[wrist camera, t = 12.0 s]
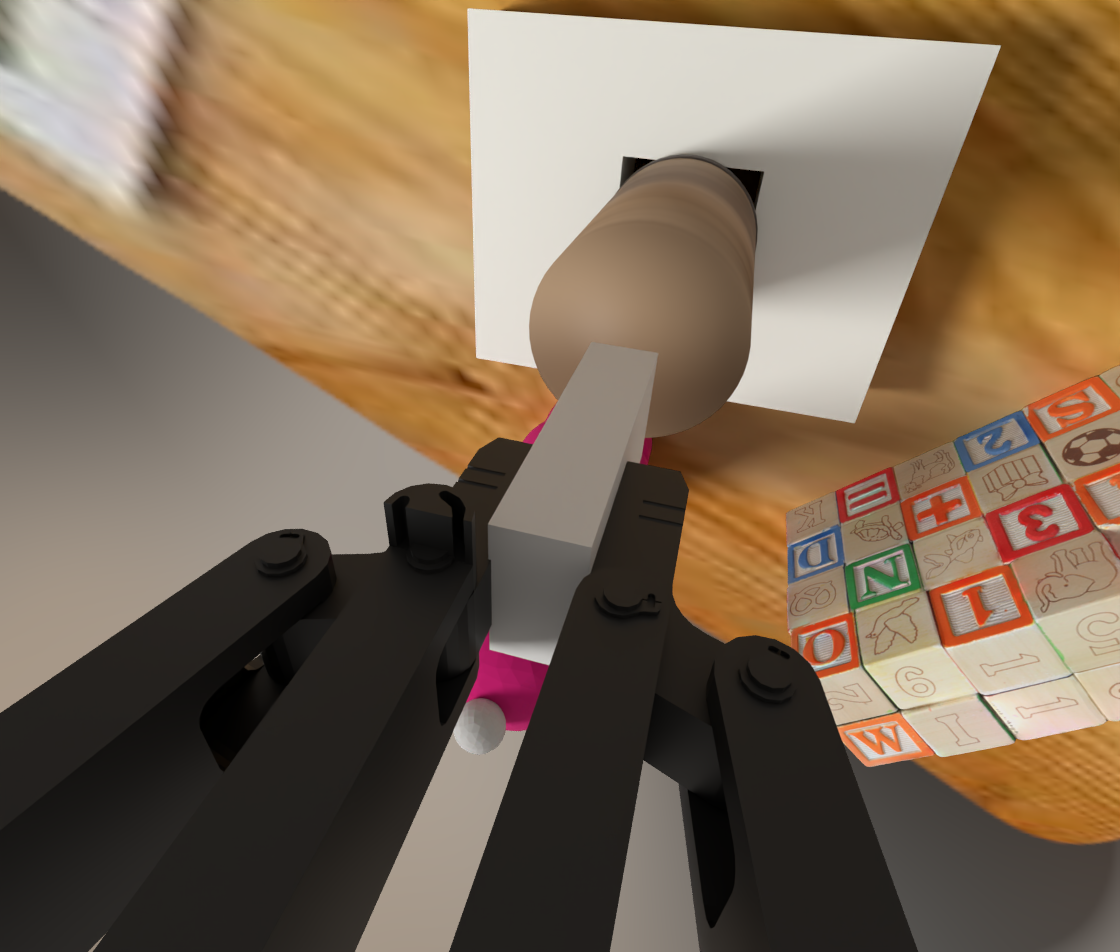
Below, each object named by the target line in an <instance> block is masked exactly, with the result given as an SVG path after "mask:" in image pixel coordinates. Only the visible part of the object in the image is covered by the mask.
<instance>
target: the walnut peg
mask: <svg viewBox="0 0 1120 952" xmlns="http://www.w3.org/2000/svg"><path fill="white" fill-rule="evenodd" d="M757 232H758V226H757V216H756V212H755V208H754V205H753V202H752V199H751V197H750V195H749V193H748V191H747V190H746V188H745V186H744V185H743V184H742V182H741V181H740V180H739V179H738V178H737V177H736V176H735V175H734V174H733V173H732V172H731V171H730V170H729V169H727V168H726V167H725V166H723V165H722V164H720V163H718V162H716V161H714V160H711V159H708V158H706V157H702V156H697V155H685V154H680V155H671V156H667V157H663V158H659V159H657V160H655V161H652V162H650V163H648V164H646V165H645V166H643V167H641V168H640V169H638V170H637V171H636V172H635V173H633V174H632V175H631V176H630V177H629V178H628V179H627V180H626V181H625V182H624V183H623V184H622V186H621V187H620V188H619V189H618V191H617V192H616V194H615V195H614V196H613V197H612V198H611V200H610V201H609V202H608V203H607V204H606V205H605V206H604V207H603V208H602V209H601V211H600V212H599V213H598V214H597V215H596V216H595V217H594V218H593V219H592V221H591V222H590V223H589V224H588V225H587V226H586V227H585V228H584V229H583V231H582V232H581V233H580V234H579V235H578V236H577V237H576V238H575V239H574V240H573V242H572V243H571V244H570V245H569V246H568V247H567V248H566V249H565V250H564V252H563V253H562V254H561V255H560V256H559V257H558V258H557V259H556V260H555V261H554V263H553V264H552V265H551V267H550V268H549V269H548V271H547V272H546V273H545V275H544V277H543V278H542V280H541V282H540V284H539V286H538V288H537V291H536V293H535V296H534V298H533V302H532V307H531V311H530V320H529V339H530V344H531V350H532V354H533V357H534V361H535V364H536V366H537V369H538V371H539V373H540V375H541V377H542V379H543V381H544V382H545V384H546V386H547V387H548V389H549V390H550V391H551V392H552V394H553V395H554V396H555V398H556V399H557V400H559V398H560V396H561V395H562V393H563V391H564V389H565V388H566V386H567V384H568V382H569V381H570V379H571V377H572V375H573V374H574V372H575V370H576V368H577V367H578V365H579V363H580V361H581V359H582V358H583V356H584V354H585V352H586V351H587V349H588V347H589V345H590V344H591V342H595V343H601V344H607V345H613V346H619V347H625V348H631V349H637V350H644V351H650V352H656V353H658V358H657V364H656V370H655V377H654V383H653V389H652V395H651V401H650V408H649V414H648V420H647V426H646V433H645V438H652V437H662V436H667V435H671V434H676V433H678V432H681V431H684V430H687V429H689V428H691V427H693V426H695V425H698V424H700V423H701V422H703V421H704V420H706V419H707V418H709V417H710V416H712V415H713V414H714V413H715V412H716V411H717V410H719V409H720V408H721V407H722V406H723V405H724V403H725V402H726V401H727V400H728V399H729V398H730V397H731V395H732V394H733V392H734V391H735V389H736V388H737V386H738V384H739V382H740V380H741V378H742V376H743V374H744V371H745V368H746V365H747V362H748V358H749V353H750V347H751V328H752V308H753V288H754V268H755V251H756V245H757Z"/></svg>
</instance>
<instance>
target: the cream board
mask: <svg viewBox="0 0 1120 952" xmlns="http://www.w3.org/2000/svg"><path fill="white" fill-rule="evenodd" d="M468 45H469V85H470V126H471V166H472V206H473V246H474V287H475V327H476V358H480V359H486V360H492V361H498V362H503V363H509V364H515V365H521V366H527V367H532V368H537V366H536V364H535V361H534V357H533V354H532V350H531V344H530V339H529V320H530V311H531V307H532V302H533V298H534V296H535V293H536V291H537V288H538V286H539V284H540V282H541V280H542V278H543V277H544V275H545V273H546V272H547V271H548V269H549V268H550V267H551V265H552V264H553V263H554V261H555V260H556V259H557V258H558V257H559V256H560V255H561V254H562V253H563V252H564V250H565V249H566V248H567V247H568V246H569V245H570V244H571V243H572V242H573V240H574V239H575V238H576V237H577V236H578V235H579V234H580V233H581V232H582V231H583V229H584V228H585V227H586V226H587V225H588V224H589V223H590V222H591V221H592V219H593V218H594V217H595V216H596V215H597V214H598V213H599V212H600V211H601V209H602V208H603V207H604V206H605V205H606V204H607V203H608V202H609V201H610V200H611V198H612V197H613V196H614V195H615V194H616V192H617V191H618V189H619V188H620V187H621V186H622V184H623V183H624V182H625V181H626V180H627V179H628V178H629V177H630V176H631V175H632V174H633V173H634V167H635V159H636V158H644V159H654V160H657V159H659V158H663V157H667V156H671V155H680V154H685V155H697V156H702V157H706V158H708V159H711V160H714V161H716V162H718V163H720V164H722V165H723V166H725V167H727V168H736V169H746V170H755V171H761V175H760V179H759V184H758V188H757V193H756V197H755V202H754V208H755V212H756V216H757V226H758V232H757V245H756V251H755V268H754V288H753V308H752V328H751V347H750V353H749V358H748V362H747V365H746V368H745V371H744V374H743V376H742V378H741V380H740V382H739V384H738V386H737V388H736V389H735V391H734V392H733V394H732V395H731V397H730V398H729V399H728V400H727V401H729V402H735V403H740V404H746V405H752V406H758V407H764V408H769V409H775V410H781V411H787V412H792V413H798V414H804V415H810V416H816V417H821V418H827V419H833V420H839V421H844V422H850V423H855V421H856V419H857V416H858V413H859V411H860V408H861V406H862V403H863V401H864V398H865V395H866V393H867V390H868V388H869V385H870V383H871V380H872V377H873V375H874V372H875V370H876V367H877V365H878V362H879V359H880V357H881V354H882V352H883V349H884V346H885V344H886V341H887V339H888V336H889V334H890V331H891V328H892V326H893V323H894V321H895V318H896V316H897V313H898V310H899V308H900V305H901V303H902V300H903V297H904V295H905V292H906V290H907V287H908V285H909V282H910V279H911V277H912V274H913V272H914V269H915V267H916V264H917V261H918V259H919V256H920V254H921V251H922V248H923V246H924V243H925V241H926V238H927V236H928V233H929V230H930V228H931V225H932V223H933V220H934V218H935V215H936V212H937V210H938V207H939V205H940V202H941V200H942V197H943V194H944V192H945V189H946V187H947V184H948V181H949V179H950V176H951V174H952V171H953V169H954V166H955V163H956V161H957V158H958V156H959V153H960V151H961V148H962V145H963V143H964V140H965V138H966V135H967V132H968V130H969V127H970V125H971V122H972V120H973V117H974V114H975V112H976V109H977V107H978V104H979V102H980V99H981V96H982V94H983V91H984V89H985V86H986V83H987V81H988V78H989V76H990V73H991V71H992V68H993V65H994V63H995V60H996V58H997V55H998V53H999V50H1000V47H1001V46H1000V45H987V44H974V43H960V42H946V41H931V40H917V39H903V38H888V37H874V36H859V35H845V34H831V33H816V32H802V31H788V30H773V29H759V28H744V27H730V26H716V25H701V24H687V23H673V22H658V21H644V20H630V19H615V18H601V17H586V16H572V15H558V14H543V13H529V12H515V11H500V10H484V9H468Z"/></svg>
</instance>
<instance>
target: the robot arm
mask: <svg viewBox="0 0 1120 952" xmlns="http://www.w3.org/2000/svg"><path fill="white" fill-rule="evenodd" d="M657 358H658V353H656V352H650V351H644V350H637V349H631V348H625V347H619V346H613V345H607V344H601V343H595V342H591V344H590V345H589V347H588V349H587V351H586V352H585V354H584V356H583V358H582V359H581V361H580V363H579V365H578V367H577V368H576V370H575V372H574V374H573V375H572V377H571V379H570V381H569V382H568V384H567V386H566V388H565V389H564V391H563V393H562V395H561V396H560V398H559V400H558V402H557V403H556V405H555V407H554V409H553V410H552V412H551V414H550V416H549V418H548V419H547V421H546V423H545V425H544V426H543V428H542V430H541V432H540V433H539V435H538V437H537V439H536V440H535V442H534V444H529V443H524V442H519V441H514V440H509V439H504V438H497V439H495V440H494V441H492V442H490V443H489V444H487V445H485V446H484V447H482V448H480V449H479V450H478V451H477V453H476V454H475V456H474V457H473V459H472V460H471V461H470V463H469V464H468V468H467V469H465V470H464V472H463V473H462V475H461V476H460V477H459V481H458V482H456V483H455V485H454V486H453V487H450V486H447V485H440V484H423V485H415V486H410V487H408V488H405V489H403V490H400V491H398V492H396V493H394V494H393V495H392V496H391V497H389V498H388V499H387V500H386V501H385V502H384V509H385V516H386V523H387V531H388V537H389V545H390V546H389V547H388V549H387V550H386V551H385V552H382V553H373V554H342V555H341V554H336V555H332V554H331V550H330V547H329V544H328V541H327V540H326V539H324V538H323V537H322V536H321V535H319V534H318V533H316V532H312V531H308V530H304V529H284V530H280V531H276V532H272V533H268V534H265V535H264V536H262V537H260V538H258V539H256V540H254V541H252V542H250V543H249V544H247V545H246V546H244V547H243V548H241V549H240V550H238V551H237V552H235V553H234V554H232V555H231V556H230V557H228V558H227V559H225V560H224V561H222V562H221V563H219V564H218V565H216V566H215V567H213V568H212V569H211V570H209V571H208V572H206V573H205V574H203V575H202V576H200V577H199V578H197V579H196V580H194V581H193V582H192V583H190V584H189V585H187V586H186V587H184V588H183V589H182V590H180V591H179V592H177V593H175V594H174V595H173V596H171V597H170V598H168V599H167V600H165V601H164V602H162V603H161V604H159V605H158V606H156V607H155V608H154V609H152V610H151V611H149V612H148V613H146V614H145V615H143V616H142V617H140V618H139V619H137V620H136V621H135V622H133V623H131V624H130V625H129V626H127V627H126V628H124V629H123V630H121V631H120V632H118V633H117V634H115V635H114V636H112V637H111V638H110V639H108V640H107V641H105V642H104V643H102V644H101V645H99V646H98V647H96V648H95V649H93V650H92V651H91V652H89V653H88V654H86V655H85V656H83V657H82V658H80V659H79V660H77V661H76V662H74V663H73V664H71V665H70V666H69V667H67V668H66V669H64V670H63V671H61V672H60V673H58V674H57V675H55V676H54V677H52V678H51V679H50V680H48V681H47V682H45V683H44V684H42V685H41V686H39V687H38V688H36V689H35V690H33V691H32V692H31V693H29V694H28V695H26V696H25V697H23V698H22V699H20V700H19V701H17V702H16V703H14V704H13V705H11V706H10V707H9V708H7V709H6V710H4V711H3V712H1V713H0V952H88V951H89V950H90V949H91V948H92V947H93V946H94V945H95V944H96V943H97V942H98V941H99V940H100V939H101V938H102V937H103V936H104V935H105V934H106V935H105V936H104V937H103V938H102V940H101V941H100V943H99V944H98V945H97V947H96V948H95V950H94V951H93V952H355V950H356V948H357V945H358V943H359V941H360V939H361V936H362V934H363V932H364V930H365V927H366V925H367V923H368V921H369V918H370V916H371V914H372V911H373V910H374V907H375V905H376V903H377V901H378V898H379V896H380V894H381V892H382V889H383V887H384V885H385V883H386V880H387V878H388V876H389V874H390V871H391V869H392V867H393V865H394V863H395V860H396V858H397V856H398V854H399V851H400V849H401V847H402V844H403V842H404V840H405V838H406V836H407V833H408V831H409V829H410V827H411V824H412V822H413V820H414V818H415V815H416V813H417V811H418V809H419V807H420V804H421V802H422V800H423V797H424V795H425V793H426V791H427V789H428V786H429V784H430V782H431V780H432V777H433V775H434V773H435V770H436V769H437V766H438V764H439V762H440V759H441V757H442V755H443V752H444V751H445V748H446V746H447V744H448V742H449V739H450V737H451V735H452V733H453V730H454V728H455V726H456V724H457V722H458V719H459V717H460V715H461V713H462V710H463V708H464V706H465V704H466V701H467V699H468V697H469V695H470V692H471V690H472V688H473V686H474V683H475V681H476V679H477V675H478V670H479V651H480V649H481V647H482V645H483V642H484V640H485V638H486V636H487V634H488V632H489V643H490V650H493V651H497V652H500V653H504V654H508V655H512V656H516V657H520V658H523V659H527V660H531V661H535V662H539V663H542V664H546V665H549V667H548V670H547V673H546V676H545V679H544V682H543V684H542V687H541V690H540V693H539V696H538V699H537V702H536V705H535V707H534V710H533V713H532V716H531V719H530V722H529V725H528V727H527V730H526V733H525V736H524V739H523V742H522V745H521V747H520V750H519V753H518V756H517V759H516V762H515V765H514V768H513V771H512V773H511V776H510V779H509V782H508V785H507V788H506V791H505V793H504V796H503V799H502V802H501V805H500V808H499V810H498V813H497V816H496V819H495V822H494V825H493V828H492V830H491V833H490V836H489V839H488V842H487V845H486V848H485V850H484V853H483V856H482V859H481V862H480V865H479V868H478V871H477V873H476V876H475V879H474V882H473V885H472V888H471V891H470V894H469V897H468V899H467V902H466V905H465V908H464V911H463V913H462V917H461V919H460V922H459V925H458V928H457V931H456V933H455V936H454V940H453V942H452V945H451V948H450V951H449V952H610V947H611V941H612V935H613V930H614V924H615V919H616V913H617V907H618V901H619V896H620V890H621V884H622V879H623V873H624V867H625V861H626V855H627V849H628V844H629V838H630V833H631V827H632V821H633V816H634V810H635V804H636V799H637V793H638V787H639V781H640V775H641V770H642V764H643V760H644V761H646V762H647V763H649V764H650V765H652V766H653V767H655V768H656V769H658V770H659V771H661V772H662V773H664V774H665V775H667V776H668V777H670V778H671V779H673V780H675V781H676V782H678V783H679V791H680V799H681V807H682V815H683V822H684V830H685V838H686V845H687V854H688V862H689V870H690V877H691V886H692V893H693V901H694V908H695V917H696V924H697V933H698V941H699V948H700V952H918V950H917V947H916V945H915V942H914V939H913V936H912V934H911V931H910V928H909V925H908V922H907V920H906V917H905V914H904V911H903V909H902V906H901V903H900V900H899V897H898V895H897V892H896V889H895V886H894V884H893V881H892V878H891V875H890V873H889V870H888V867H887V864H886V862H885V859H884V856H883V853H882V850H881V848H880V845H879V842H878V839H877V836H876V834H875V831H874V828H873V825H872V823H871V820H870V817H869V814H868V812H867V809H866V806H865V803H864V801H863V798H862V795H861V792H860V789H859V787H858V784H857V781H856V778H855V775H854V773H853V770H852V767H851V764H850V762H849V759H848V756H847V753H846V750H845V748H844V745H843V742H842V739H841V737H840V734H839V731H838V728H837V725H836V723H835V720H834V717H833V714H832V712H831V709H830V706H829V703H828V701H827V698H826V695H825V692H824V689H823V687H822V684H821V681H820V679H819V678H818V676H817V674H816V672H815V671H814V669H813V667H812V666H811V664H810V663H809V662H808V661H807V660H806V659H805V658H804V657H803V656H801V655H800V654H799V653H798V652H797V651H796V650H795V649H793V648H791V647H789V646H787V645H785V644H783V643H781V642H779V641H777V640H775V639H770V638H766V637H761V636H756V635H755V636H745V637H737V638H735V639H733V640H731V641H730V642H728V643H726V644H724V643H722V642H721V641H719V640H717V639H715V638H713V637H711V636H709V635H707V634H706V633H704V632H702V631H701V630H699V629H698V628H696V627H695V626H693V625H692V624H691V623H690V622H689V621H688V620H687V619H686V618H685V617H684V616H683V615H682V613H681V612H680V610H679V609H678V607H677V606H676V604H675V601H674V598H673V595H672V584H673V578H674V573H675V567H676V561H677V555H678V550H679V544H680V538H681V532H682V526H683V521H684V515H685V509H686V504H687V498H688V492H689V489H688V487H687V485H686V483H685V480H684V478H683V476H682V474H681V472H680V471H675V470H670V469H665V468H660V467H655V466H650V465H645V464H640V460H641V457H642V451H643V445H644V439H645V433H646V426H647V420H648V414H649V408H650V401H651V395H652V389H653V383H654V377H655V370H656V364H657ZM259 654H260V655H259ZM258 655H259V656H258ZM257 656H258V657H257ZM255 657H257V658H255ZM254 658H255V659H254ZM253 659H254V660H253Z"/></svg>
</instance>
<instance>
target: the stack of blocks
mask: <svg viewBox="0 0 1120 952" xmlns="http://www.w3.org/2000/svg"><path fill="white" fill-rule="evenodd" d="M786 528H787V532H786V534H787V547H788V588H787V615H788V616H787V622H788V632H789V634H790V635H791V648H793V649H795V650H796V651H797V652H798V653H799V654H800V655H801V656H803V657H804V658H805V659H806V660H807V661H808V662H809V663H810V664H811V666H812V667H813V669H814V671H815V672H816V674H817V676H818V678H819V679H820V681H821V684H822V687H823V689H824V692H825V695H826V698H827V701H828V703H829V706H830V709H831V712H832V714H833V717H834V720H835V723H836V725H837V728H838V731H839V734H840V737H841V739H842V742H844V744H845V745H846V746H847V747H848V748H849V749H850V750H851V751H852V752H853V753H854V754H855V755H856V756H857V758H859V760H860V761H861V762H862V763H863V764H864V765H865V766H868V767H872V766H877V765H882V764H887V763H892V762H898V761H903V760H910V759H915V758H920V757H926V756H931V755H934V754H935V753H936V754H937V755H938V756H940V757H947V756H952V755H957V754H963V753H968V752H973V751H978V750H984V749H989V748H994V747H999V746H1004V745H1009V744H1012V743H1014V742H1015V740H1016V739H1021V740H1029V739H1034V738H1040V737H1044V736H1049V735H1053V734H1059V733H1065V732H1069V731H1073V730H1078V729H1083V728H1088V727H1094V726H1099V725H1101V724H1104V723H1105V722H1106V721H1108V720H1111V721H1119V720H1120V365H1119V366H1116V367H1114V368H1112V369H1110V370H1108V371H1106V372H1104V373H1102V374H1101V375H1099V376H1097V377H1092V378H1090V379H1087V380H1085V381H1083V382H1080V383H1078V384H1076V385H1073V386H1071V387H1069V388H1067V389H1064V390H1062V391H1060V392H1057V393H1055V394H1053V395H1050V396H1048V397H1046V398H1043V399H1041V400H1039V401H1037V402H1035V403H1033V404H1030V405H1028V406H1026V407H1024V408H1023V409H1022V410H1021V411H1018V412H1015V413H1013V414H1011V415H1008V416H1006V417H1004V418H1002V419H999V420H997V421H995V422H993V423H990V424H988V425H986V426H984V427H982V428H979V429H977V430H975V431H972V432H970V433H968V434H966V435H963V436H961V437H959V438H957V439H956V440H954V441H952V442H949V443H946V444H944V445H942V446H939V447H937V448H935V449H933V450H931V451H928V452H926V453H924V454H921V455H919V456H917V457H915V458H913V459H910V460H908V461H906V462H903V463H901V464H899V465H897V466H895V467H890V468H887V469H885V470H882V471H880V472H878V473H875V474H873V475H871V476H869V477H867V478H864V479H862V480H860V481H857V482H855V483H853V484H851V485H848V486H846V487H844V488H842V489H839V490H837V491H836V492H832V493H829V494H827V495H825V496H823V497H820V498H818V499H816V500H813V501H811V502H809V503H807V504H804V505H802V506H800V507H798V508H795V509H793V510H791V511H789V512H787V513H786Z"/></svg>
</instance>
